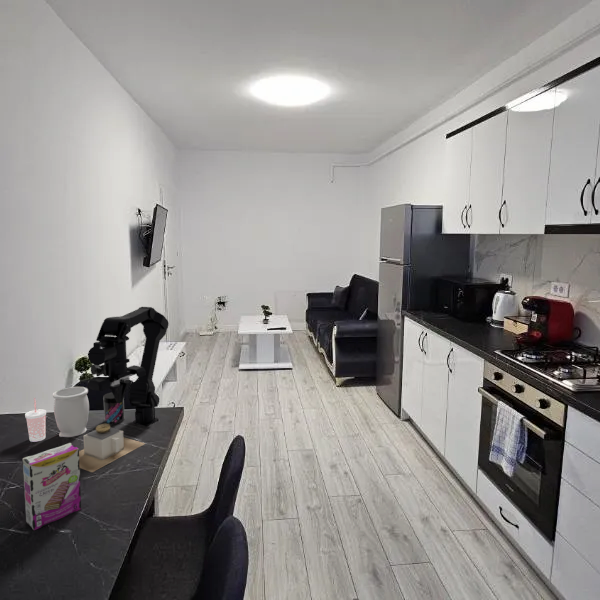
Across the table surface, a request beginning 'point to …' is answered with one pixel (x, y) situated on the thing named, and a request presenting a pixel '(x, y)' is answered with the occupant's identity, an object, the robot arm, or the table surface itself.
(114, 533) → the table surface
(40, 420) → the beverage cup
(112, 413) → the supplement container
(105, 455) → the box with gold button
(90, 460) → the serving board
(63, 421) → the jar
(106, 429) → the gold push button
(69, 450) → the candy bar box
